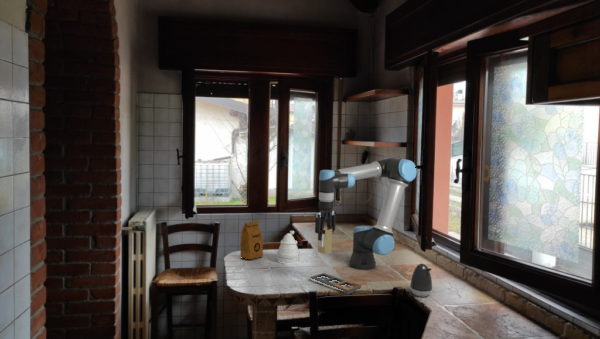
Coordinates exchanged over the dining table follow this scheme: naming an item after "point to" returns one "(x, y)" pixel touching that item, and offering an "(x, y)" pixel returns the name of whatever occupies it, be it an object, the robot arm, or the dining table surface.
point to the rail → (338, 285)
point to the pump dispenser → (421, 281)
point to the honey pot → (288, 249)
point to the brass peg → (326, 241)
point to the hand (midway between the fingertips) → (324, 245)
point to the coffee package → (251, 241)
